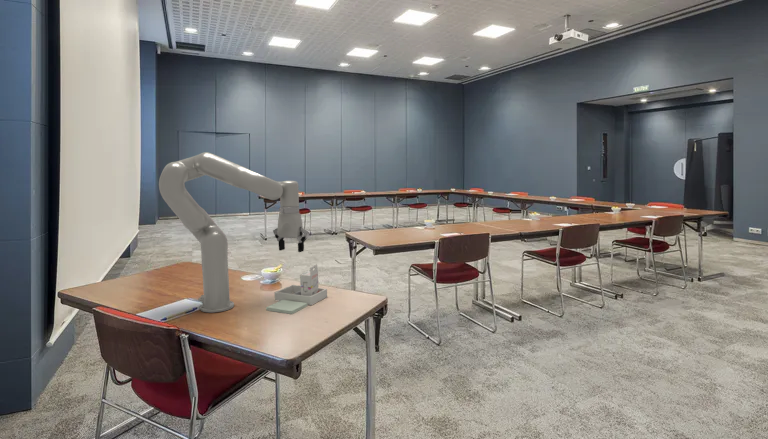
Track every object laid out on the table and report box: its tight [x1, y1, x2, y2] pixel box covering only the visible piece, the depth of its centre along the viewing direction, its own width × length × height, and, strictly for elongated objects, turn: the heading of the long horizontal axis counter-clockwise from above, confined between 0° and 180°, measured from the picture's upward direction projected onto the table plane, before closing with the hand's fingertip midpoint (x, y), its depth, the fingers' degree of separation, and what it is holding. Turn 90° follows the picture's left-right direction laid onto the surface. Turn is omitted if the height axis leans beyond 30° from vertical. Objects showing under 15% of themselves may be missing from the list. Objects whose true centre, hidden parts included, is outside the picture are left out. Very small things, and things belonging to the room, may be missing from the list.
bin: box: [274, 284, 328, 306], centre depth 183 cm, size 18×13×4 cm
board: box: [265, 300, 308, 315], centre depth 171 cm, size 12×10×1 cm
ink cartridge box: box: [299, 263, 319, 296], centre depth 180 cm, size 9×5×15 cm, turn 168°
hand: (291, 250), depth 182 cm, fingers open, 9 cm apart
